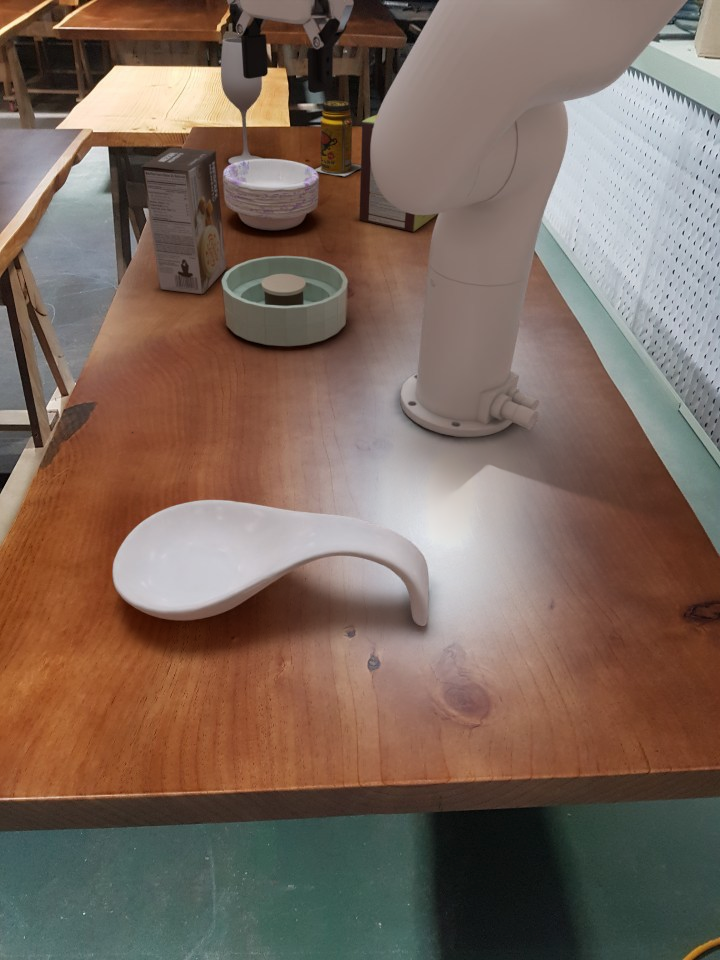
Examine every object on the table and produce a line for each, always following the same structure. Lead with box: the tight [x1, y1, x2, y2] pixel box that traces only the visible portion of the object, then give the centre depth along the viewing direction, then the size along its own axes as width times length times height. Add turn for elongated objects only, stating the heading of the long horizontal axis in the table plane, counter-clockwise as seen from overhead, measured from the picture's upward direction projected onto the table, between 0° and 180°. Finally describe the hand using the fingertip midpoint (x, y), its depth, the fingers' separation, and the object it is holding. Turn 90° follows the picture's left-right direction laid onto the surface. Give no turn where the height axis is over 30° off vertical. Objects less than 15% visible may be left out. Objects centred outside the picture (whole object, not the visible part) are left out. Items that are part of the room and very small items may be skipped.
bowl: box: [221, 255, 349, 347], centre depth 89 cm, size 15×15×6 cm
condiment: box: [314, 100, 361, 177], centre depth 138 cm, size 7×8×12 cm
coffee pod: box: [261, 274, 306, 306], centre depth 89 cm, size 5×5×4 cm
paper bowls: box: [222, 158, 320, 231], centre depth 115 cm, size 15×15×8 cm
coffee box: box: [141, 147, 227, 295], centre depth 94 cm, size 9×6×16 cm
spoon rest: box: [112, 499, 430, 627], centre depth 53 cm, size 24×12×7 cm, turn 86°
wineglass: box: [220, 37, 264, 165], centre depth 137 cm, size 8×8×21 cm
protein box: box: [358, 114, 439, 233], centre depth 118 cm, size 10×15×16 cm
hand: (287, 83), depth 78 cm, fingers open, 9 cm apart
